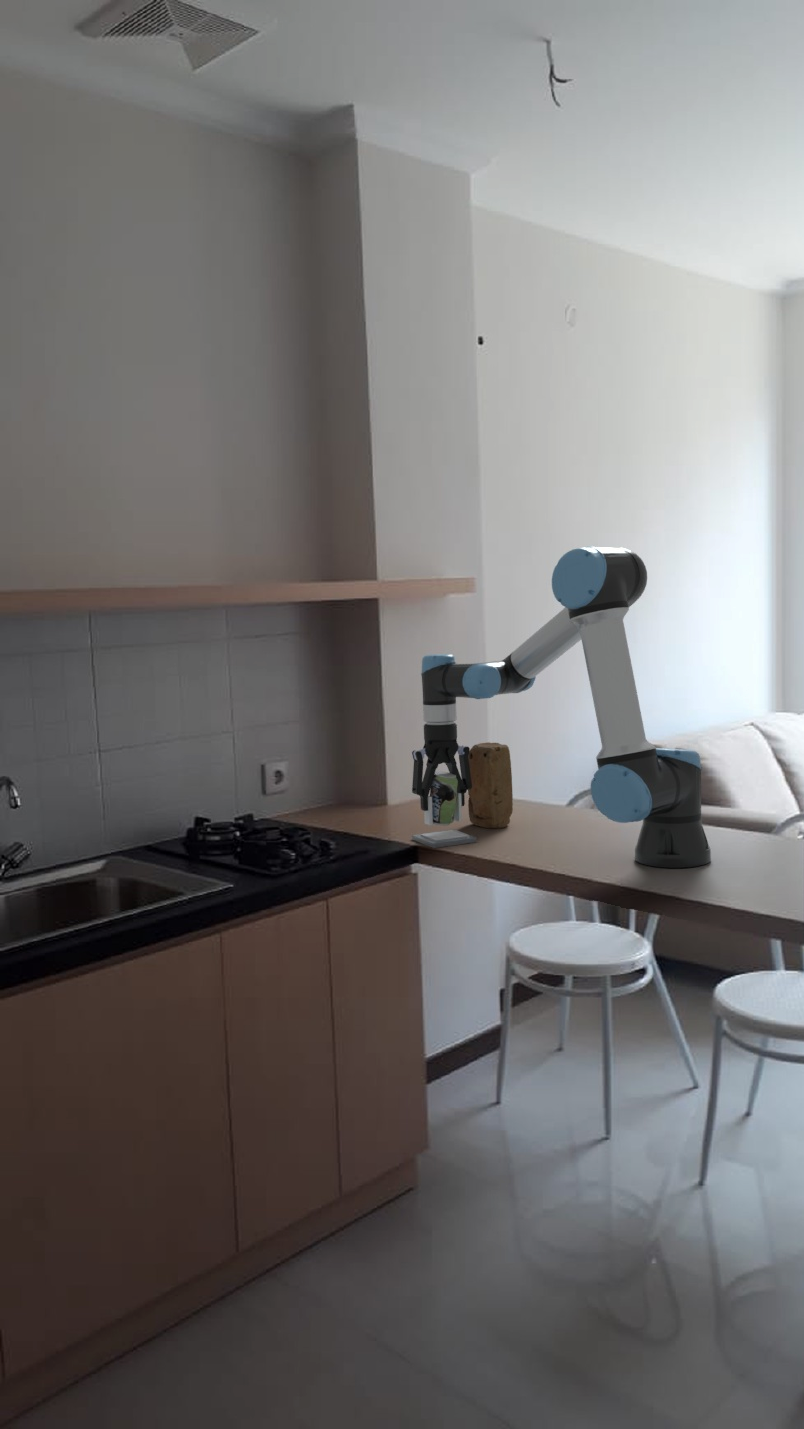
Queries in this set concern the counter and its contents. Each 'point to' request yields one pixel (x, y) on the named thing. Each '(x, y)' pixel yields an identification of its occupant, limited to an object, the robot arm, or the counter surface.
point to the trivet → (444, 838)
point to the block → (490, 785)
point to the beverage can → (443, 798)
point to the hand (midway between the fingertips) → (443, 822)
